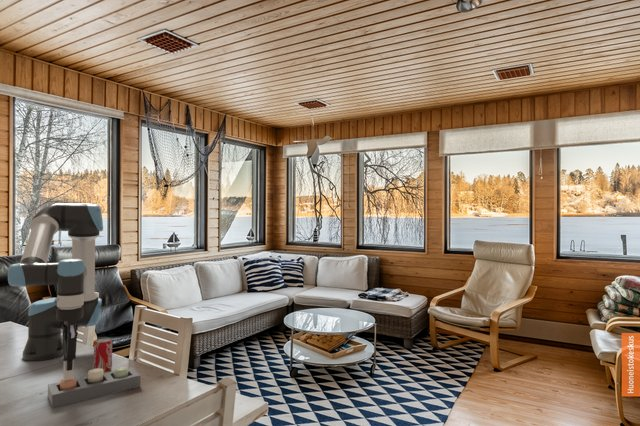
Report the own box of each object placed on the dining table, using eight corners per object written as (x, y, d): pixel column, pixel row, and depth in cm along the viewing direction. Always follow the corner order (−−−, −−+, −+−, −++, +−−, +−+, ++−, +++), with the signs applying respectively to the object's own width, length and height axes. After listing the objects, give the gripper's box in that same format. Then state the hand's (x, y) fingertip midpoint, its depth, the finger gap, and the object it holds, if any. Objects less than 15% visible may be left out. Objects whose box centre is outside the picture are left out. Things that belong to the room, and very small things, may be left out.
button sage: (112, 377, 144) (112, 368, 144) (126, 374, 147) (126, 366, 147) (115, 381, 141) (115, 372, 141) (129, 378, 144) (130, 369, 144)
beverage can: (103, 375, 153) (104, 343, 153) (89, 373, 154) (90, 341, 154) (115, 369, 159) (116, 338, 159) (101, 367, 160) (102, 337, 160)
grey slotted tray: (47, 396, 135) (48, 384, 135) (131, 377, 151) (132, 366, 151) (52, 408, 127) (52, 395, 127) (140, 386, 144) (140, 375, 144)
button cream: (86, 379, 139) (86, 370, 139) (101, 376, 142) (101, 367, 142) (89, 383, 136) (89, 374, 136) (104, 380, 139) (105, 371, 139)
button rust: (58, 389, 134) (59, 379, 134) (75, 385, 137) (75, 376, 137) (61, 393, 131) (61, 384, 131) (77, 390, 134) (77, 381, 134)
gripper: (53, 304, 137) (52, 375, 137) (59, 312, 127) (58, 388, 127) (79, 301, 142) (77, 370, 141) (87, 309, 132) (85, 382, 131)
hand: (68, 378), depth 134 cm, fingers closed
